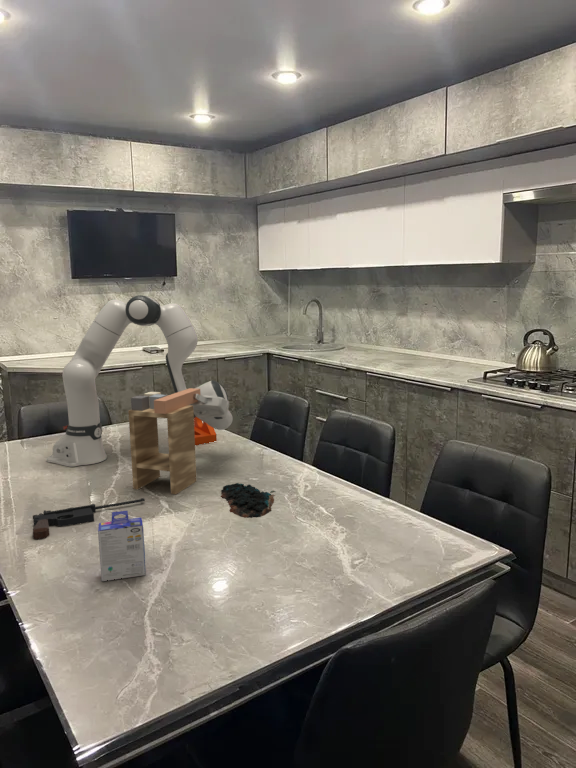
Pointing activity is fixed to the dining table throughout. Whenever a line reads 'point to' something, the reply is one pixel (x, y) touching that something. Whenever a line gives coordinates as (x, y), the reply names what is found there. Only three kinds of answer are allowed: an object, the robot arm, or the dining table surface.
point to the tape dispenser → (203, 432)
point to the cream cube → (151, 394)
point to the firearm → (67, 517)
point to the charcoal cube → (140, 403)
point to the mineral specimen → (247, 500)
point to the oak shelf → (147, 448)
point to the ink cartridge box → (121, 547)
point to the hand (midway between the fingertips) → (188, 395)
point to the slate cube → (154, 397)
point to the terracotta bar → (175, 401)
